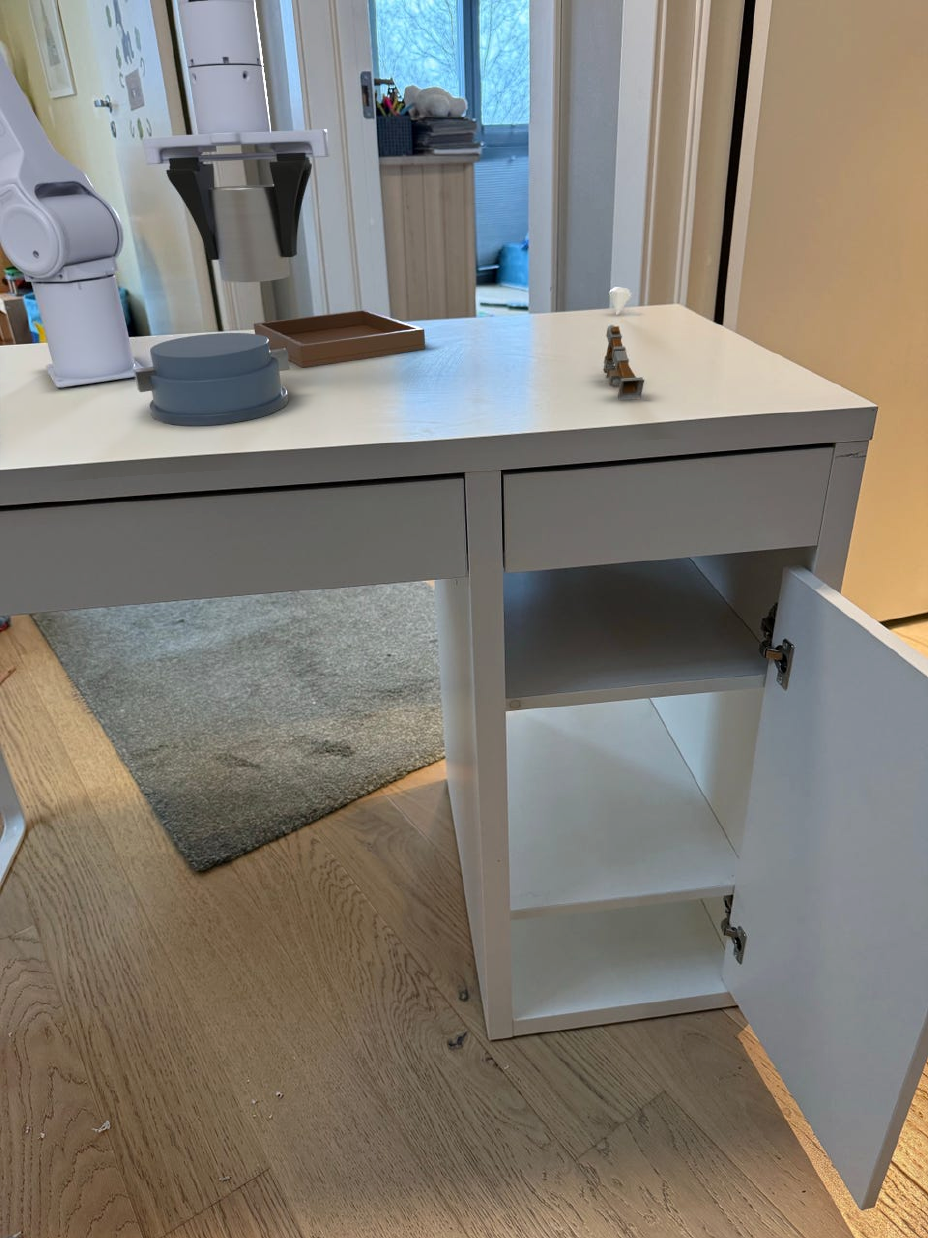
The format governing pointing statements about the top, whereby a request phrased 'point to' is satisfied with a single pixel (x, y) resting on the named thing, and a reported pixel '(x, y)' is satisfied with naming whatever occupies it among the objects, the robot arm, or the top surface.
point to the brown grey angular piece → (620, 367)
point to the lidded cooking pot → (214, 379)
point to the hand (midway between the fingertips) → (253, 257)
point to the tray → (340, 337)
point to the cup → (248, 233)
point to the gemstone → (620, 297)
